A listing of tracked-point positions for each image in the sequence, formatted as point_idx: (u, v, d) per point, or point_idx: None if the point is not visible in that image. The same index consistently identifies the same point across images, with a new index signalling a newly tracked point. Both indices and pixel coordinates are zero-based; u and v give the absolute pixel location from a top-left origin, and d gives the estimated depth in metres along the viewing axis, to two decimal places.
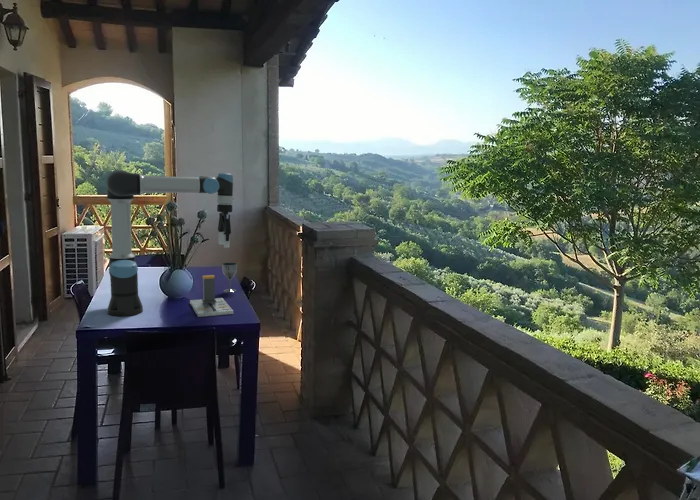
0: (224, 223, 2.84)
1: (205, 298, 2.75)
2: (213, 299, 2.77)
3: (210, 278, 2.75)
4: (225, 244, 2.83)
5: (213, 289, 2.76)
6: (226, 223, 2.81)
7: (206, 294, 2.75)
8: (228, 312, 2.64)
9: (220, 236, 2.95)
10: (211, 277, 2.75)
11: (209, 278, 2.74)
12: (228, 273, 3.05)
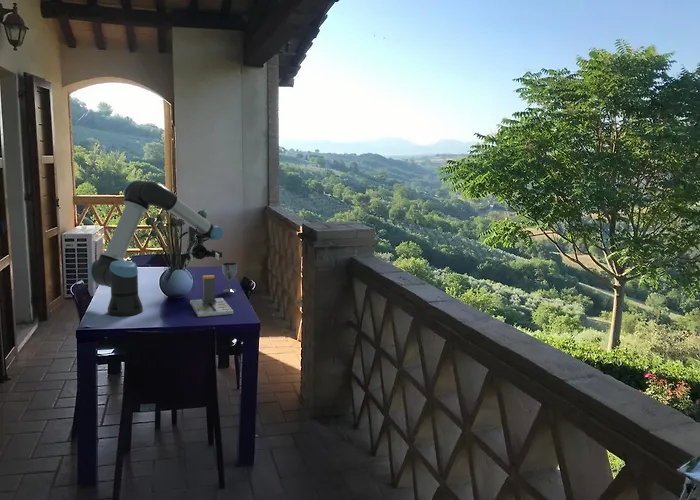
0: (210, 252, 2.95)
1: (205, 298, 2.75)
2: (213, 299, 2.77)
3: (210, 278, 2.75)
4: None
5: (213, 289, 2.76)
6: None
7: (206, 294, 2.75)
8: (228, 312, 2.64)
9: (191, 256, 2.84)
10: (211, 277, 2.75)
11: (209, 278, 2.74)
12: (228, 273, 3.05)
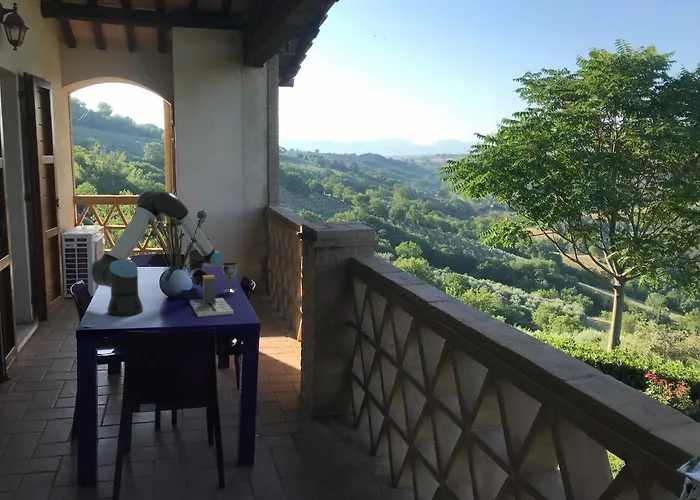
0: None
1: (205, 298, 2.75)
2: (213, 299, 2.77)
3: (210, 278, 2.75)
4: None
5: (213, 289, 2.76)
6: None
7: (206, 294, 2.75)
8: (228, 312, 2.64)
9: None
10: (211, 277, 2.75)
11: (209, 278, 2.74)
12: (228, 273, 3.05)
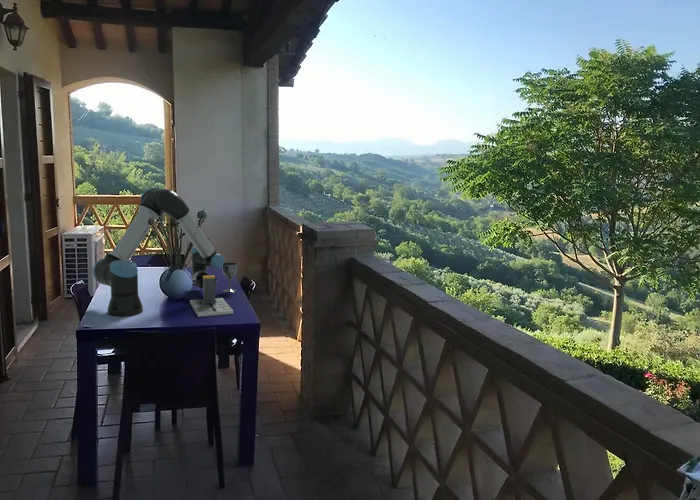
0: None
1: (205, 298, 2.75)
2: (213, 299, 2.76)
3: (210, 278, 2.74)
4: None
5: (213, 289, 2.76)
6: (215, 281, 2.91)
7: (206, 294, 2.75)
8: (228, 312, 2.64)
9: None
10: (211, 277, 2.74)
11: (209, 278, 2.74)
12: (228, 273, 3.05)
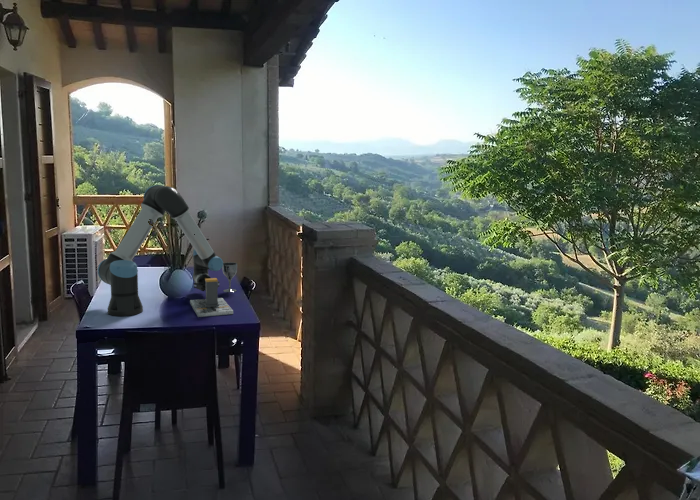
0: None
1: (208, 302, 2.68)
2: (216, 303, 2.70)
3: (213, 281, 2.68)
4: None
5: (216, 292, 2.69)
6: (217, 284, 2.84)
7: (209, 297, 2.68)
8: (228, 312, 2.64)
9: None
10: (214, 280, 2.68)
11: (212, 281, 2.68)
12: (228, 273, 3.05)
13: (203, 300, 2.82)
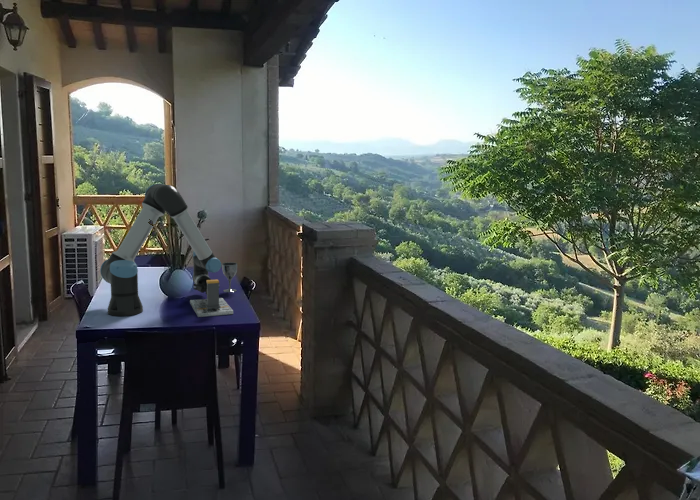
0: None
1: (209, 303, 2.65)
2: (217, 304, 2.67)
3: (214, 283, 2.65)
4: None
5: (217, 294, 2.66)
6: None
7: (210, 299, 2.65)
8: (228, 312, 2.64)
9: None
10: (215, 282, 2.65)
11: (213, 283, 2.65)
12: (228, 273, 3.05)
13: (203, 300, 2.82)
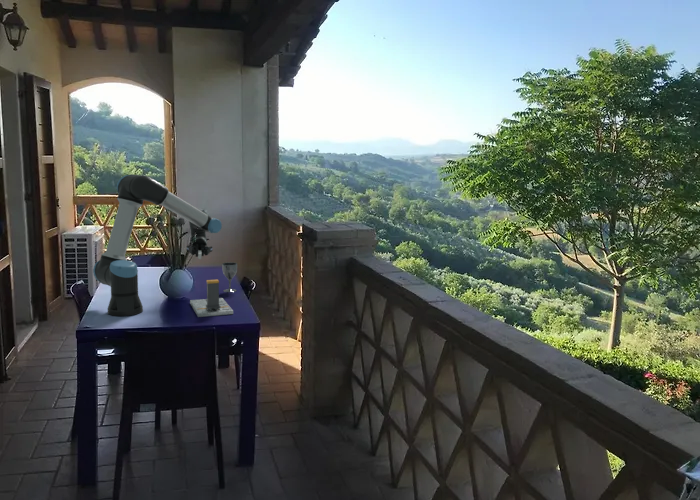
0: (203, 248, 2.85)
1: (209, 303, 2.65)
2: (217, 304, 2.67)
3: (214, 283, 2.65)
4: None
5: (217, 294, 2.66)
6: (209, 249, 2.85)
7: (210, 299, 2.65)
8: (228, 312, 2.64)
9: None
10: (215, 282, 2.65)
11: (213, 283, 2.64)
12: (228, 273, 3.05)
13: (203, 300, 2.82)
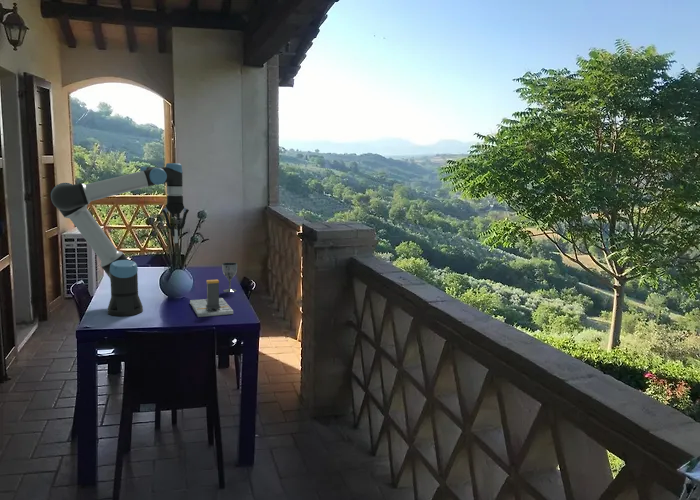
0: (179, 217, 2.81)
1: (209, 303, 2.65)
2: (217, 304, 2.67)
3: (214, 283, 2.65)
4: (177, 239, 2.82)
5: (217, 294, 2.66)
6: (185, 218, 2.82)
7: (210, 299, 2.65)
8: (228, 312, 2.64)
9: None
10: (215, 282, 2.65)
11: (213, 283, 2.64)
12: (228, 273, 3.05)
13: (203, 300, 2.82)
